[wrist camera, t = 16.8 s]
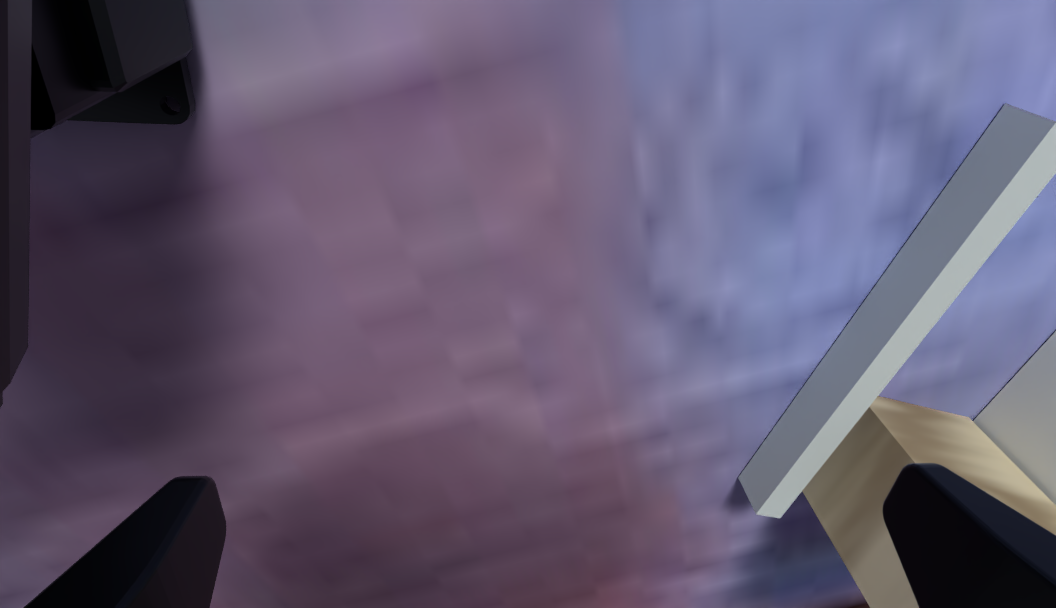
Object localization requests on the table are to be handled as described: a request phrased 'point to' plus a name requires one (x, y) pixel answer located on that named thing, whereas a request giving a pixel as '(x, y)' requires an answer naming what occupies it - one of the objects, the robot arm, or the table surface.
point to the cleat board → (928, 324)
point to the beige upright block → (871, 469)
